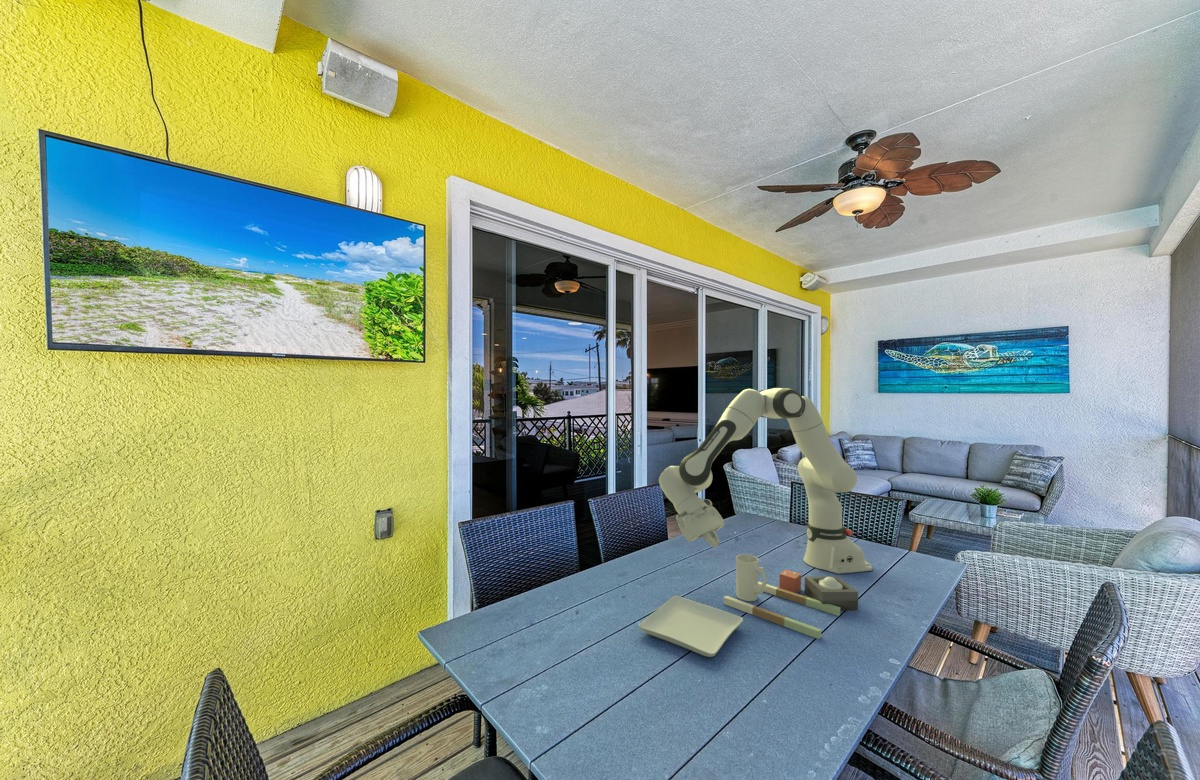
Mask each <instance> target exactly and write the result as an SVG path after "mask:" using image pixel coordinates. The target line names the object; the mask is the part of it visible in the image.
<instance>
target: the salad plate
mask: <svg viewBox="0 0 1200 780" xmlns="http://www.w3.org/2000/svg"><path fill="white" fill-rule="evenodd" d="M743 622H744V618H743V617H742V616H740V615H737V614H734V613H731V612H729V611H726V610H725V611H724V610H722V609H719V608H716V607H715V606H714V607H713V606H710V605H707V604H704V603H702V602H697V601H695V600H693V599H688V598H685V597H682V596H679V595H673V596H671V597H670V598H669V599H668V600H667V601H666V602H665V603H663V604H662V605H661V606H659V608H657V609H656V610H655V611H654V612H652V613H651V614H650V615H648V616H647V617H646V618H644V619H643V620H642V621H641V622H640V623H639V624H638V627H639V628H640V629H641V631H643V632H644V633H646V634H647V635H650V636H653V637H654V638H655V637H656V638H658V639H660V640H663V641H666V642H668V643H671V644H674V645H676V646H679V647H682V648H684V649H686V650H689V651H691V652H695V653H696V654H699V655H700V656H703V657H707V658H712V657H714V656H716V655H717V654H718V652H719V651H720V649H721V648H722V646H723V645H724V643H725V642H726V641H727V640H728V639H729V637H730V636H731V635H732V634H733V633H734V631H736V629H737V628H738V627H740V625H741V624H742V623H743Z"/></svg>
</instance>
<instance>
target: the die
mask: <svg viewBox="0 0 1200 780" xmlns="http://www.w3.org/2000/svg"><path fill="white" fill-rule="evenodd" d="M778 576H779V577H778V578H779V581H778V584H779V587H778V588H781V589H784V590H787V591H790V592H793V593H796V594H799V592H800V591H801V590H802V573H799V572H795V571H792V570H789V569H784V570H782V572H780V573H779V574H778Z"/></svg>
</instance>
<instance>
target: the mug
mask: <svg viewBox="0 0 1200 780" xmlns="http://www.w3.org/2000/svg"><path fill="white" fill-rule="evenodd" d="M759 560H760V559H759V557H757V556H754V555H752V554H746V553H745V554H744V553H740V554H738V555H735V578H736V579H735V585H736V586H735V587H736V588H735V591H736V593H735V594H736V597H737V598H738V600H740V601H743V602H755V601H757V600H758V598H759V597H758V595H762V594H763V593H764V589H765V587H766V584H767V575H766V573H765V570H764V569H765V568H764V567H762V566H760V565H759V562H760V561H759ZM759 574H760V576H761V578H762V581H761V582H762V586H761V588H758V582H759Z"/></svg>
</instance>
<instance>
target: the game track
mask: <svg viewBox="0 0 1200 780" xmlns="http://www.w3.org/2000/svg"><path fill="white" fill-rule="evenodd" d="M762 582H763V581H758V588H761V586H762ZM764 592H765V593H768V594H769V595H773V596H777V597H779V598H782V599H786V600H788V601H792V602H794V603H797V604H801V605H804V606H807V607H810V608H812V609H816V610H819V611H822V612H825V613H828V614H830V615H834V616H837V617H840V615H841V611H840V607H838V606H835V605H831V604H822V603H821V602H820V601H819V600H816V599H812V598H809V597H807V596H806V595H803V594H800V593H793V592H790V591H787V590H784V589H781V588H779V587H777V586H774V585H772V584H771V585H770V584H767V583H766V587H765V589H764ZM764 592H763V593H764ZM723 605H725V606H729V607H731V608H734V609H737V610H738V611H742V612H744V613H747V614H749V615H752V616H755V617H758V618H761V619H763V620H766V621H768V622H772V623H774V624H777V625H780V626H782V627H785V628H788V629H790V630H793V631H796V632H798V633H801V634H802V635H803V634H804V635H807V636H808V637H809V636H810V637H812V638H815V639H817V640H820V639H821V637H822V629H821V628H818V627H815V626H812V625H809V624H807V623H805V622H801V621H798V620H796V619H793V618H790V617H788V616H784V615H782V614H779V613H776V612H773V611H770V610H767V609H765V608H762V607H760V606H756V605H754V604H751V603H748V602H747V601H744V600H741V599H737V598H734V597H731V596H728V595H725V596H724V597H723Z"/></svg>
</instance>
